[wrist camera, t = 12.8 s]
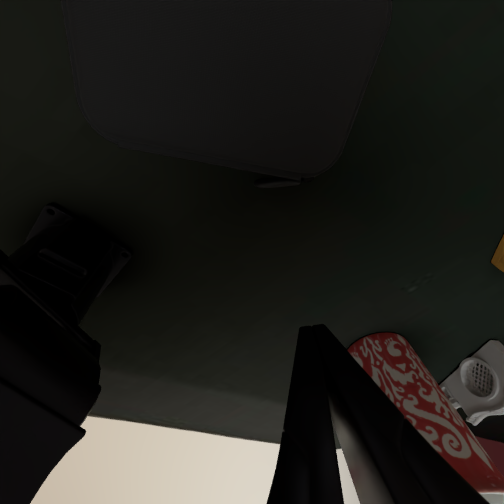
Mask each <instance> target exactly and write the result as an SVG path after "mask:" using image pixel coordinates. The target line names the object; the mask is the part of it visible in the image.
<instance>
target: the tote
mask: <svg viewBox="0 0 504 504" xmlns="http://www.w3.org/2000/svg"><path fill="white" fill-rule="evenodd" d="M491 263H492V264H493V265H495V266H496V267H497V268H498V269H500V270H501V271H502V272H504V235H503V237H502V239H501V241H500V243H499V245H498V248H497V250H496V252H495V254H494V256H493V258H492V260H491Z"/></svg>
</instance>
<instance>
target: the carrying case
mask: <svg viewBox="0 0 504 504" xmlns="http://www.w3.org/2000/svg"><path fill="white" fill-rule="evenodd" d="M61 5H62V11H63V18H64V24H65V30H66V36H67V43H68V49H69V55H70V62H71V68H72V74H73V81H74V87H75V93H76V99H77V103H78V106H79V108H80V110H81V112H82V114H83V116H84V117H85V119H86V120H87V122H88V123H89V124H90V126H91V127H92V128H93V129H94V130H95V131H96V132H97V133H98V134H100V135H101V136H102V137H104V138H105V139H107V140H108V141H110V142H113V143H115V144H118V147H119V148H124V149H132V150H138V151H143V152H148V153H154V154H159V155H165V156H170V157H175V158H181V159H186V160H191V161H197V162H202V163H207V164H213V165H218V166H223V167H229V168H234V169H240V170H245V171H250V172H256V173H261V174H266V175H272V176H277V177H275V178H262V179H258V180H256V181H255V182H254V185H255V186H256V187H258V188H275V187H285V186H296V185H300V183H301V182H310V181H312V180H313V179H314V177H315V176H317V175H320V174H322V173H324V172H325V171H327V170H328V169H329V168H330V167H332V166H333V165H334V164H335V162H336V161H337V160H338V159H339V157H340V156H341V154H342V152H343V150H344V147H345V144H346V142H347V139H348V136H349V134H350V131H351V128H352V126H353V123H354V120H355V118H356V115H357V112H358V110H359V107H360V104H361V102H362V99H363V96H364V94H365V91H366V88H367V85H368V83H369V80H370V77H371V75H372V72H373V69H374V67H375V64H376V61H377V59H378V56H379V53H380V51H381V48H382V45H383V43H384V40H385V37H386V35H387V32H388V29H389V26H390V22H391V16H392V0H61ZM301 180H302V181H301Z"/></svg>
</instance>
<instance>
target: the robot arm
mask: <svg viewBox="0 0 504 504" xmlns="http://www.w3.org/2000/svg"><path fill="white" fill-rule="evenodd" d="M51 209H52V210H54V211H55V213H54V212H52V211H51ZM123 252H125V253H127V254H128V255H126V254H124V253H123ZM132 255H133V252H132V250H131V249H130V248H128V247H127V246H125V245H123V244H122V243H120V242H118V241H117V240H115V239H113V238H112V237H110V236H108V235H107V234H105V233H103V232H102V231H100V230H98V229H97V228H95V227H93V226H92V225H90V224H88V223H87V222H85V221H83V220H82V219H80V218H78V217H77V216H75V215H73V214H72V213H70V212H68V211H67V210H65V209H63V208H62V207H60V206H58V205H57V204H54V203H49V204H47V205H46V206H45V207H44V208H43V209H42V211H41V213H40V215H39V217H38V218H37V220H36V222H35V224H34V226H33V227H32V229H31V231H30V233H29V235H28V236H27V238H26V240H25V242H24V244H23V245H22V246H21V247H20V248H19V249H18V250H16V251H15V252H14V253H13V254H11V255H10V256H9V257H8V256H7V255H6V254H5V253H4V252H3V251H2V250H0V504H30V503H31V501H32V500H33V498H34V496H35V494H36V493H37V492H38V490H39V488H40V487H41V485H42V484H43V482H44V481H45V479H46V478H47V476H48V475H49V474H50V472H51V471H52V470H53V468H54V467H55V466H56V465H57V464H58V462H59V461H60V460H61V459H62V458H63V456H64V455H65V454H66V453H67V452H68V451H69V450H70V449H71V448H72V447H73V446H74V445H75V444H76V443H77V442H78V441H79V440H80V439H82V438H83V437H84V435H85V433H86V430H85V429H83V428H81V427H80V426H81V425H82V423H83V422H84V421H85V419H86V417H87V416H88V414H89V413H90V411H91V409H92V408H93V406H94V405H95V403H96V400H97V398H98V396H99V393H100V391H101V386H100V385H99V378H100V370H101V368H100V365H99V357H100V350H101V345H100V344H99V343H98V342H97V341H96V340H93V339H92V338H90V337H89V336H88V335H87V334H86V333H85V332H84V331H83V330H82V329H81V328H80V327H79V326H78V325H79V323H80V322H81V320H82V319H83V317H84V315H85V314H86V312H87V311H88V309H89V307H90V306H91V304H92V303H93V301H94V299H95V298H96V297H98V296H99V295H100V294H101V293H102V292H103V290H104V289H105V288H106V287H107V286H108V284H109V283H110V282H111V281H112V280H113V279H114V277H115V276H116V275H117V274H118V273H119V271H120V270H121V269H122V268H123V267H124V265H125V264H126V263H127V262H128V261H129V260H130V258H131V257H132ZM331 418H332V420H331ZM404 418H405V416H404V415H403V413H402V412H401V411H400V410H399V409H398V408H397V407H396V405H395V404H394V403H393V402H392V401H391V400H390V399H389V397H388V396H387V395H386V394H385V393H384V392H383V391H382V389H381V388H380V387H379V386H378V385H377V384H376V383H375V382H374V380H373V379H372V378H371V377H370V376H369V375H368V374H367V372H366V371H365V370H364V369H363V368H362V367H361V366H360V364H359V363H358V362H357V361H356V360H355V359H354V358H353V356H352V355H351V354H350V353H349V352H348V351H347V350H346V348H345V347H344V346H343V345H342V344H341V343H340V342H339V341H338V339H337V338H336V337H335V336H334V335H333V334H332V333H331V331H330V330H329V329H328V328H327V327H326V326H325V325H324V324H319V325H313V326H312V327H311V326H303V327H300V328H299V334H298V340H297V346H296V352H295V359H294V365H293V371H292V377H291V383H290V389H289V396H288V402H287V408H286V414H285V420H284V426H283V432H282V438H281V444H280V450H279V455H278V460H277V465H276V470H275V474H274V478H273V482H272V486H271V489H270V493H269V497H268V500H267V504H344V501H343V494H342V488H341V481H340V474H339V467H338V461H337V453H336V447H335V440H334V433H333V426H332V421H333V424H334V427H335V430H336V433H337V436H338V439H339V442H340V445H341V448H342V451H343V454H344V457H345V459H346V462H347V465H348V468H349V471H350V474H351V477H352V480H353V483H354V486H355V489H356V492H357V495H358V498H359V501H360V504H490V503H489V502H488V501H487V500H486V499H485V498H484V497H483V496H482V495H481V494H479V493H478V492H477V491H476V490H475V489H474V488H473V487H472V486H471V485H470V484H469V483H468V482H467V481H466V480H465V479H464V478H463V477H462V476H461V475H460V474H459V473H458V472H457V471H456V470H455V469H454V468H453V467H452V466H451V465H450V464H449V463H448V462H447V461H446V460H445V459H444V458H443V457H442V456H441V455H440V454H439V453H438V452H437V451H436V450H435V449H434V448H433V447H432V446H431V445H430V443H429V442H428V441H427V440H426V439H425V438H424V437H423V436H422V435H421V434H420V433H419V431H418V430H417V429H416V428H415V427H414V426H413V425H412V424H411V422H410V421H409V420H408V419H407V418H405V419H404Z"/></svg>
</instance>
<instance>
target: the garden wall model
mask: <svg viewBox="0 0 504 504" xmlns="http://www.w3.org/2000/svg"><path fill="white" fill-rule="evenodd" d="M477 363H479V367H478V366H476V364H477ZM481 363H482V364H481ZM480 365H483V369H482V368H480ZM474 366H475V368H474V369H473V367H474ZM484 366H485V367H487V368H486V370H484ZM476 367H477V368H479V369H478V371H476ZM480 369H481V370H482V373H481V372H480ZM488 369H489V371H490V372H488ZM473 370H474V373H472V371H473ZM484 371H486V375H485V374H484ZM476 372H478V375H476V374H475V373H476ZM488 373H489V376H487V374H488ZM472 374H473V375H474V377H472ZM480 374H482V377H480V376H479V375H480ZM491 374H492V376H493V378H491ZM483 375H484V376H486V377H485V379H484V378H483ZM475 376H477V377H478V379H476V378H475ZM487 377H488V378H489V381H488V380H487ZM479 378H481V381H479ZM490 379H492V380H493V383H492V382H490ZM475 380H477V383H475ZM483 380H485V383H483ZM479 382H481V385H479ZM487 382H488V385H487ZM490 383H491V384H492V387H491V386H490ZM475 384H477V387H476V385H475ZM483 384H485V387H483V386H482V385H483ZM478 385H479V386H480V387H481V388H480V389H478ZM486 385H487V386H488V389H487V388H486ZM439 387H440V388H441V389H442V391H443V392H444V393H445V394H446V395H447V396H446V397H447V398H448V399H449V401H450V402H451V404H452V405H453V406H454V408H455V409H458V408H459V407H462V408H463V410H464V411H465V413H466V414H467V416H468V418H467V419H466V421H468V422H470V423H472V424H473V425H475V426H476V425H477V424H478V423H479V422H480V421H481V420H482V419H483V418H485V417H487V416H489V415H504V346H503V345H502V344H501V343H500V342H499V341H495V340H490V341H489V342H488V343H486V344H485V345H484V346H483V347H482V348H481V349H480V350H479V351H477V352H476V353H475V354H474V355H473V356H472V357H471V358H466V359H465V360H463V361H462V362H461V364H460V366H459V368H458V369H457V370H456V371H455V372H454V373H452V374H451V375H450V376H449V377H448V378H447V379H446V380H445V381H444V382H442V383H441V384H440V385H439ZM482 388H484V391H482ZM490 388H492V391H490V390H489V389H490ZM486 390H488V392H487V393H486ZM489 391H490V392H492V393H491V394H490V395H489ZM482 392H483V393H484V394H483V393H482ZM485 394H487V396H486V395H485Z"/></svg>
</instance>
